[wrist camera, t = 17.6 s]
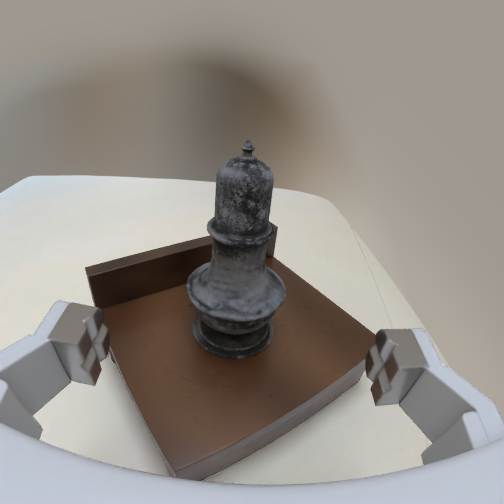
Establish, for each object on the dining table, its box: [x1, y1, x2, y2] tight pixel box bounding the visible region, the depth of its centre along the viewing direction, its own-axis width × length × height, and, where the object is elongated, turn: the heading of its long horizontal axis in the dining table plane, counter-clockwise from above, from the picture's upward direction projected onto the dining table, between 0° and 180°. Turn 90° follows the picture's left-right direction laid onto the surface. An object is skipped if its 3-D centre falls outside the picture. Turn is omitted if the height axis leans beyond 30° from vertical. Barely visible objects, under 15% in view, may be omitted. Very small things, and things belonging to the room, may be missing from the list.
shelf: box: [85, 222, 376, 481], centre depth 21 cm, size 16×14×8 cm
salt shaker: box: [186, 140, 286, 359], centre depth 17 cm, size 6×6×12 cm
